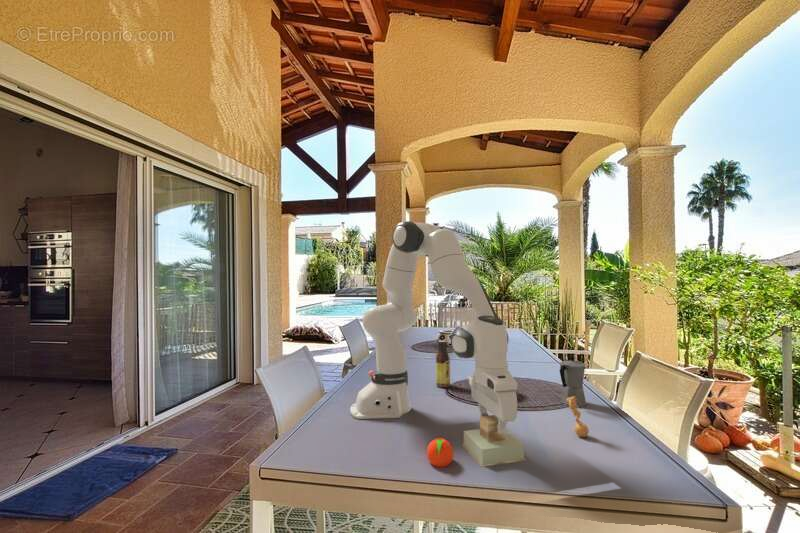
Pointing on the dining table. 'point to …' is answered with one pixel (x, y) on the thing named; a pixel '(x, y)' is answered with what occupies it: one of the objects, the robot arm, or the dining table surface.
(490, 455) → the plinth block
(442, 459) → the clementine
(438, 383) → the sauce bottle
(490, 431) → the oak cube
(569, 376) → the coffeepot
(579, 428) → the figurine
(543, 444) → the dining table surface
